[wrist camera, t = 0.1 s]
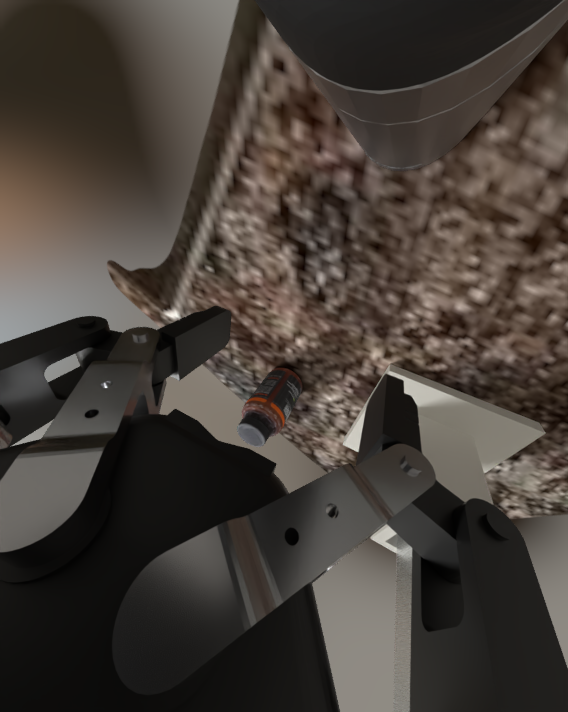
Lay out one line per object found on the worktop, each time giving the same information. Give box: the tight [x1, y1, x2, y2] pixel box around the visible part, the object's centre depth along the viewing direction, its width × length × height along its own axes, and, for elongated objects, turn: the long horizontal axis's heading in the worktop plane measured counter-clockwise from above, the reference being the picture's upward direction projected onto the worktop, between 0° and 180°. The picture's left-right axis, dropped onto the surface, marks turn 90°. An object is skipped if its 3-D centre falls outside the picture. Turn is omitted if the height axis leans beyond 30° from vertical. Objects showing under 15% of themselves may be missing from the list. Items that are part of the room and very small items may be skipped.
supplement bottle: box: [237, 368, 302, 447], centre depth 32 cm, size 6×6×11 cm
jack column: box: [393, 534, 412, 712], centre depth 21 cm, size 4×4×22 cm
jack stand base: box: [343, 364, 546, 553], centre depth 25 cm, size 16×16×15 cm
